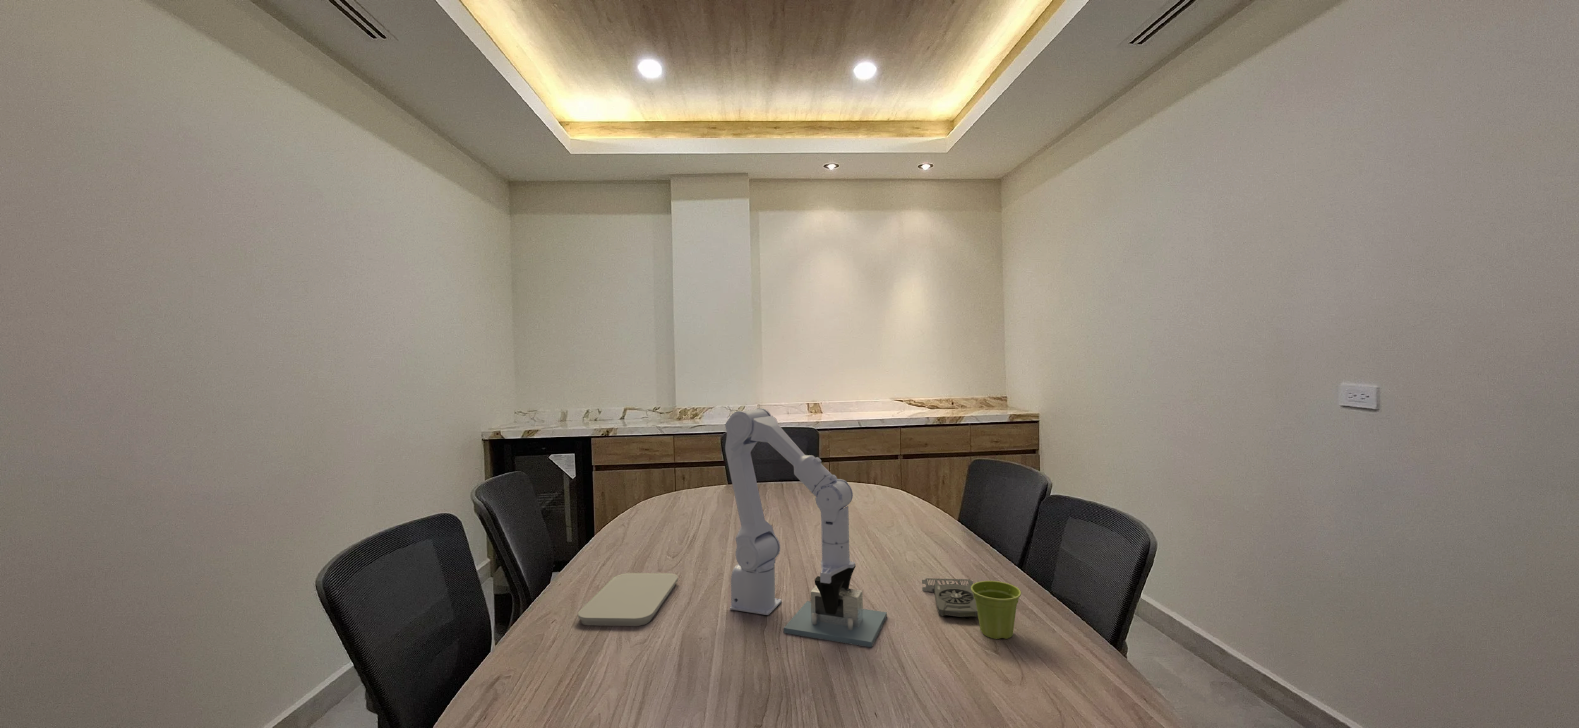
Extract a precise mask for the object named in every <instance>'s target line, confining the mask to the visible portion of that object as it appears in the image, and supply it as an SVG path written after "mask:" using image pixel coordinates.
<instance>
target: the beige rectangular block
mask: <svg viewBox="0 0 1579 728" xmlns="http://www.w3.org/2000/svg"><path fill="white" fill-rule="evenodd" d="M863 595H864V594H863V590H861V589H854V588H849V589H848V588H841V589H840V593H839V598H838V608H837V612H836V614H835V615H834V614H827V613H826V612H825V609H824V605H823V601H822V597H821V594H820V592H819V590H818V588H817V586H816V585H814V587H813V588H812V589H811V591H810V601H811V620H812V613H816V614H817V621H818V622H825V623H831V624H838V625H844V626H848V618H852V619H853V627H857V628H858V627H859V625H860V624H861V622H862V620H863V609H864V605H863V602H864V601H863V599H864V598H863V597H864V596H863Z"/></svg>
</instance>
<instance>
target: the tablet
mask: <svg viewBox="0 0 1579 728" xmlns="http://www.w3.org/2000/svg"><path fill="white" fill-rule="evenodd" d="M678 581H679V576H678V575H677V574H675V573H671V572H670V573H669V572H667V573H666V572H665V573H664V572H660V573H659V572H626V573H621V574H618V575H615V576H614V577H612V578H611V579H610V581H608V582H607V583H606V584H605V585H604V586H603V587H602V588H601V589H600V590H599V591H598V592H596V594H595V595H594V596H593V597H592V598H591V599H590V600H589V601H588V602H587V603H586V604H585V605H584V606H583V607H582V608H581V609H580V610H578V612H577V618H578V619H579V620H581V624H582V625H585V626H617V627H618V626H620V627H621V626H622V627H638V626H643V625H644V626H645V625H646V624H648V623H650V622H651V620H652V619H653V618H654V616H655V615H656V614H657V612H658V611H659V609H660V608H661V606H662V605H663V603H664V602H665V601H666V599H667V597H668V596H669V595H670V594H671V592H672V591H673V589H674V587H676V584H677V582H678Z"/></svg>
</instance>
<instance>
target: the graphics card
mask: <svg viewBox="0 0 1579 728" xmlns="http://www.w3.org/2000/svg"><path fill="white" fill-rule="evenodd" d="M938 581H939V582H940V584H939V582H938ZM943 582H944V584H943ZM947 582H948V583H947ZM953 582H954V583H953ZM921 584H922V585H925V586H922V587H921V589H922V590H921V591H922V592H932V593H934V597H935V603H936V604H935V605H936V609H937V610H936V611H937V612H938V614H939V616H943V617H944V616H953V617H958V618H965V620H970V618H967V617H977V618H978V612H977V606H976V601H975V598H974V594H973V592H972V591H971V586H972V585H973V584H974V580H973V578H972V579H968V578H966V579H963V578H937V577H936V578H934V577H931V578H929V577H925V579H922V580H921Z"/></svg>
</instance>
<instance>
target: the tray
mask: <svg viewBox="0 0 1579 728" xmlns="http://www.w3.org/2000/svg"><path fill="white" fill-rule="evenodd" d="M887 616H888V612H887V611H881V610H880V611H879V610H874V609H866V608H863V620H862V622H861V624H860V625H859V627H858V628H857V627H853V619H852V618H848V626H844V625H838V624H831V623H825V622H818V621H817V614H816V613H812V620H811V600H810V601H809V600H807V601H805V603H804V604H803V605H802V606H801V607H800V608H799V610H798V611H797V612H796V613H795V614H794V615H793V616H792V617H791V619H790V620H789V621H788V623H786V625H785V626H784V627H783V633H784V634H787V635H788V634H789V635H796V636H802V637H808V638H813V639H820V640H823V641H824V640H825V641H830V642H838V643H845V644H850V645H857V646H862V647H868V648H872V647H873V646H874V643H875V642H876V639H877V638H878V635H879V634H880V631H881V629H882V628H883V626H884V623H885V621H886V619H887Z"/></svg>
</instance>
